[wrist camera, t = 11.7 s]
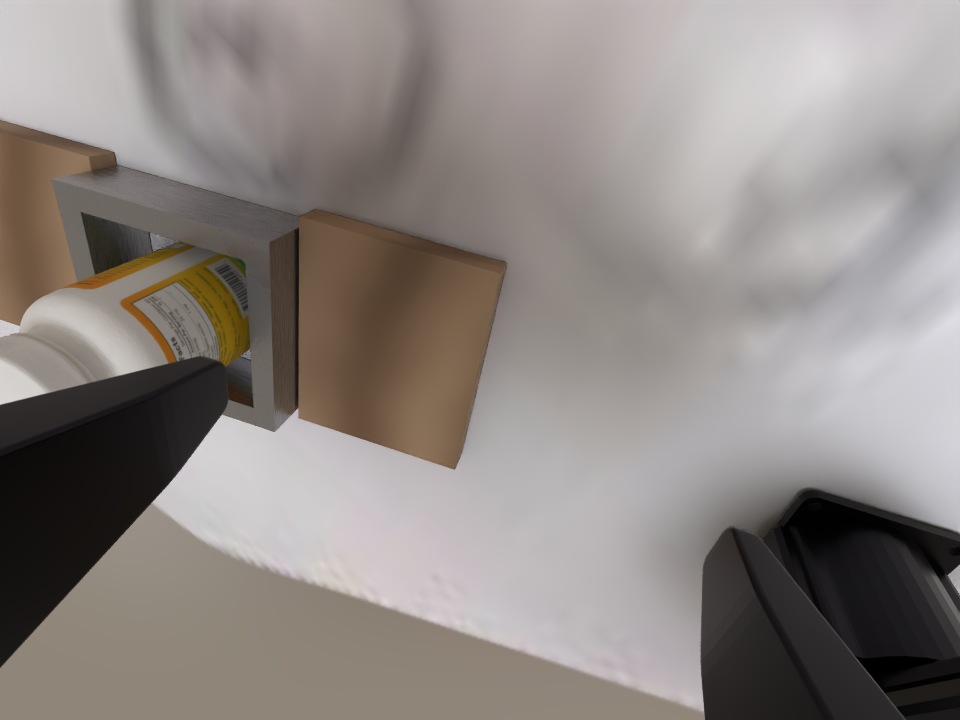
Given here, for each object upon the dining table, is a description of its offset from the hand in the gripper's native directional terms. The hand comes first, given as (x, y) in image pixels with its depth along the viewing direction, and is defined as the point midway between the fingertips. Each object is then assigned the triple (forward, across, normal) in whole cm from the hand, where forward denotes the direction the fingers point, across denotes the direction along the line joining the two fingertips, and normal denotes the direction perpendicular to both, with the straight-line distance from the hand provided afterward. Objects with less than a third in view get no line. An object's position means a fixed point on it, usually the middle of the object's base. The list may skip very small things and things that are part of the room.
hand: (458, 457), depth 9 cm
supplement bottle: (+12, +14, +6) cm, 19 cm away
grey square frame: (+12, +14, +6) cm, 19 cm away
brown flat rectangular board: (+12, +14, +6) cm, 19 cm away
